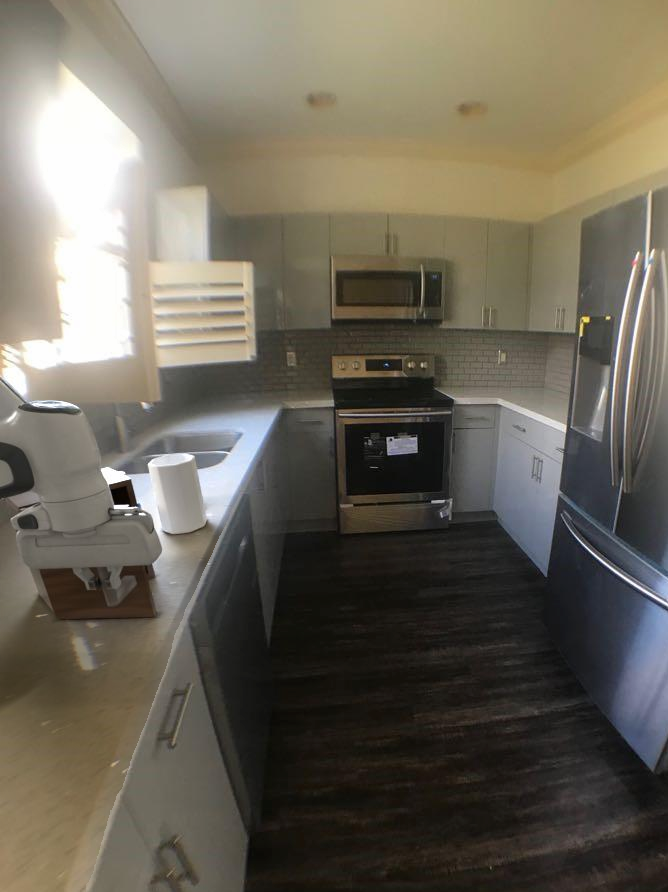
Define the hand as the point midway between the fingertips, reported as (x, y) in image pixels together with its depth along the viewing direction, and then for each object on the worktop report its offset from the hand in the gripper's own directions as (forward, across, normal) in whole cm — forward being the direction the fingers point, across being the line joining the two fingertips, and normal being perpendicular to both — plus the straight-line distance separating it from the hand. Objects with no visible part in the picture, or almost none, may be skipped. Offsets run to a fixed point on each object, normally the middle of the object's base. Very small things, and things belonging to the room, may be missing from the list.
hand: (104, 587), depth 74 cm
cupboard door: (+11, +7, -4) cm, 13 cm away
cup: (+11, +8, -48) cm, 50 cm away
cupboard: (+11, +15, -19) cm, 26 cm away
